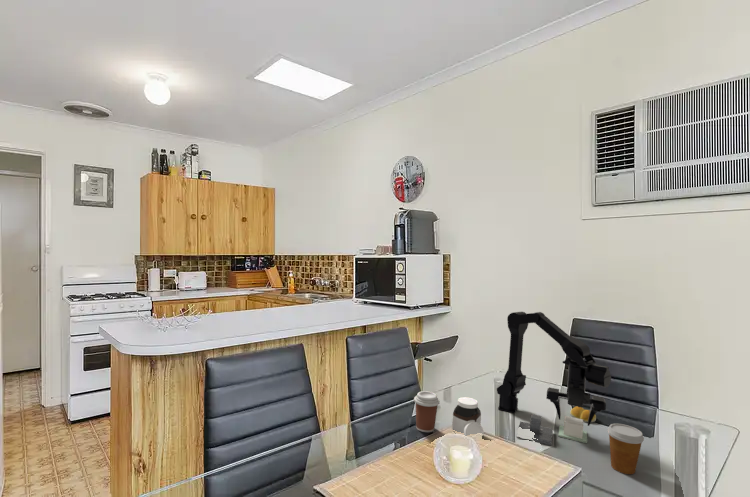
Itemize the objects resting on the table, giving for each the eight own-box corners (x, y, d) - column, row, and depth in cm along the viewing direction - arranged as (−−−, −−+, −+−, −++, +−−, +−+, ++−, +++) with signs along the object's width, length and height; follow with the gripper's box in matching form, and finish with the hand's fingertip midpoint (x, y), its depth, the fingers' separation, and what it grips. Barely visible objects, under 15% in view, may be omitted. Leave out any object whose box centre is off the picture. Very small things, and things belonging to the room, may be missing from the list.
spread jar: (464, 426, 150) (466, 394, 150) (492, 437, 142) (494, 404, 142) (444, 435, 142) (446, 402, 142) (473, 449, 134) (475, 413, 134)
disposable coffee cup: (598, 460, 131) (601, 422, 131) (627, 460, 132) (629, 423, 131) (618, 477, 121) (621, 437, 121) (649, 477, 122) (652, 437, 122)
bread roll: (591, 425, 157) (592, 414, 157) (567, 416, 164) (568, 406, 164) (599, 419, 163) (600, 409, 163) (576, 412, 170) (576, 402, 170)
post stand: (516, 437, 143) (517, 418, 143) (520, 425, 153) (521, 407, 153) (550, 445, 139) (552, 426, 139) (552, 432, 149) (553, 414, 148)
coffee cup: (407, 427, 147) (409, 393, 146) (422, 420, 153) (424, 388, 153) (428, 436, 140) (430, 401, 140) (443, 428, 147) (445, 395, 147)
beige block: (563, 434, 147) (564, 421, 146) (563, 427, 152) (564, 415, 152) (582, 438, 144) (583, 425, 144) (582, 431, 149) (582, 419, 149)
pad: (558, 436, 146) (558, 434, 146) (559, 426, 154) (559, 425, 154) (587, 443, 142) (587, 441, 142) (586, 432, 150) (586, 431, 150)
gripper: (546, 380, 144) (544, 424, 145) (608, 391, 136) (605, 438, 136) (548, 371, 154) (546, 413, 155) (606, 381, 146) (603, 425, 147)
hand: (573, 422), depth 148 cm, fingers open, 9 cm apart
